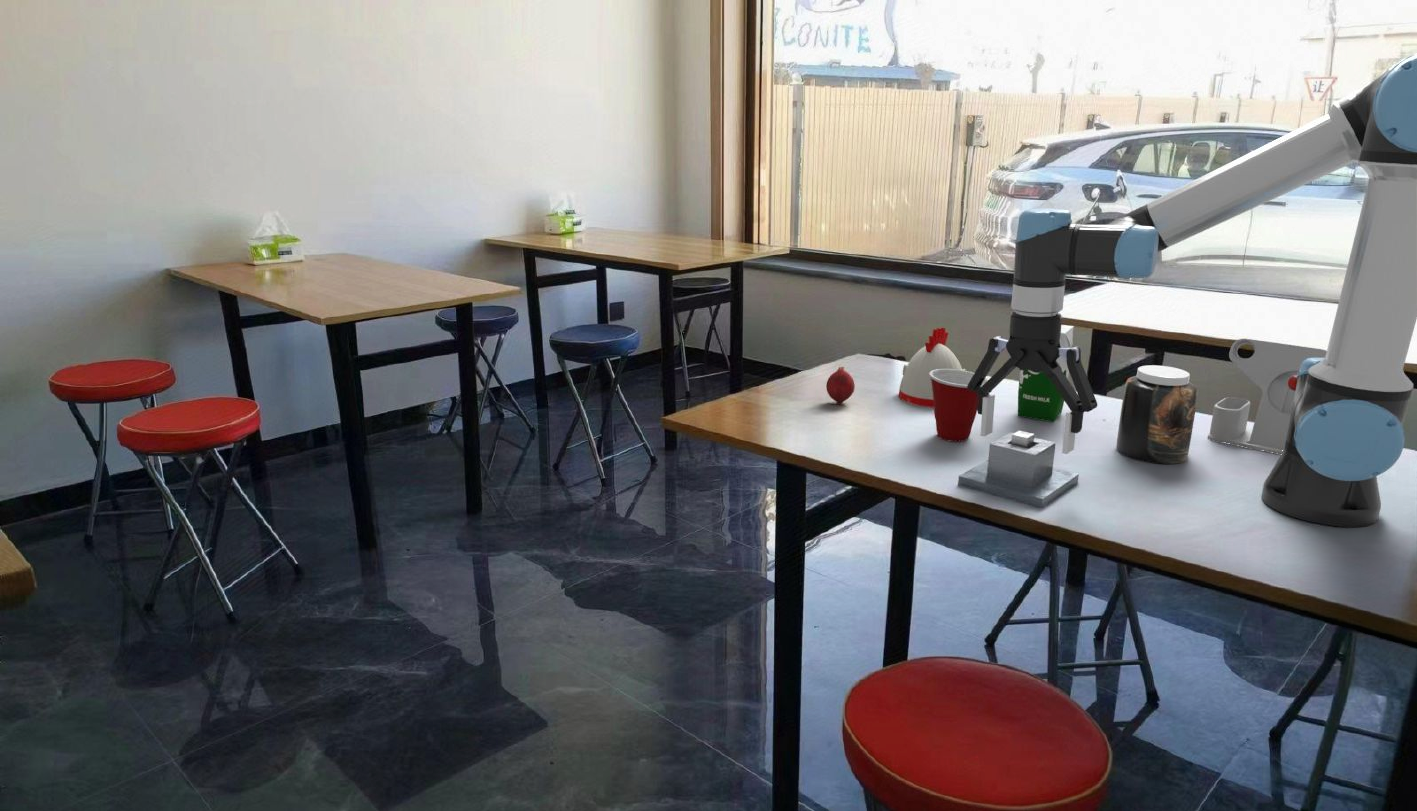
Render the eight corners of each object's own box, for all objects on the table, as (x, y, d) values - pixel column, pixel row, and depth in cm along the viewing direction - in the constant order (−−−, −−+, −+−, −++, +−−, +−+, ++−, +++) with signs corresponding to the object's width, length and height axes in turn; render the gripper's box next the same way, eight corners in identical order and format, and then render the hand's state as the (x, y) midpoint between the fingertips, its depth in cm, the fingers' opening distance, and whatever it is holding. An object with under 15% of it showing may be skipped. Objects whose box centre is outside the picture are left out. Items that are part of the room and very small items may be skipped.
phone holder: (1203, 438, 171) (1219, 344, 166) (1220, 426, 178) (1235, 335, 173) (1311, 461, 160) (1331, 361, 154) (1324, 447, 167) (1345, 350, 161)
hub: (1051, 474, 150) (1055, 442, 148) (1031, 487, 145) (1035, 454, 143) (1007, 463, 155) (1011, 432, 153) (986, 475, 149) (989, 443, 148)
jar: (1105, 453, 164) (1116, 371, 159) (1129, 437, 172) (1140, 359, 168) (1175, 469, 156) (1189, 384, 152) (1197, 452, 164) (1210, 371, 160)
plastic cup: (986, 448, 166) (992, 384, 163) (925, 444, 168) (929, 381, 165) (982, 429, 176) (987, 368, 173) (924, 425, 178) (928, 366, 175)
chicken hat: (977, 397, 197) (983, 328, 193) (946, 411, 187) (952, 339, 183) (919, 385, 206) (923, 319, 202) (886, 398, 196) (890, 329, 192)
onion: (855, 407, 190) (857, 370, 187) (827, 407, 190) (828, 370, 187) (851, 399, 195) (853, 362, 193) (824, 399, 195) (825, 362, 193)
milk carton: (1011, 416, 184) (1021, 318, 178) (1023, 405, 191) (1033, 310, 185) (1057, 424, 179) (1069, 323, 173) (1067, 412, 187) (1079, 315, 181)
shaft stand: (1077, 482, 151) (1084, 433, 148) (1041, 508, 141) (1047, 455, 138) (997, 461, 160) (1002, 415, 157) (958, 484, 150) (962, 435, 147)
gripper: (1129, 317, 136) (1114, 452, 142) (973, 299, 153) (965, 422, 159) (1110, 325, 131) (1095, 465, 137) (950, 306, 147) (944, 432, 153)
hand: (1025, 442), depth 148 cm, fingers open, 13 cm apart
